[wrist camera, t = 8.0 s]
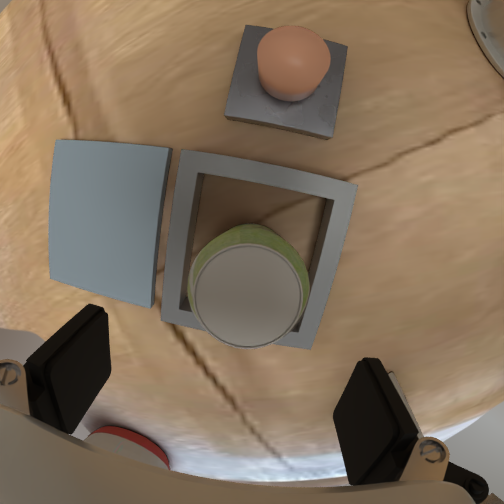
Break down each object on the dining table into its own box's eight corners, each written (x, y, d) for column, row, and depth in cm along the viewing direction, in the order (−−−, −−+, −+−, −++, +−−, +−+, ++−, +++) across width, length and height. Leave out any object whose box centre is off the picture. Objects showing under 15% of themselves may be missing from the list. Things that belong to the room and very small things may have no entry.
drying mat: (61, 140, 22) (55, 139, 21) (172, 148, 22) (168, 148, 21) (55, 275, 26) (50, 278, 25) (154, 303, 26) (150, 308, 25)
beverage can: (214, 288, 25) (179, 376, 14) (216, 202, 23) (169, 235, 12) (287, 292, 25) (302, 386, 14) (294, 207, 23) (324, 244, 12)
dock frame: (190, 150, 22) (181, 149, 20) (348, 183, 22) (358, 184, 20) (169, 307, 26) (160, 320, 24) (307, 334, 26) (310, 349, 24)
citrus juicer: (158, 412, 30) (106, 550, 11) (193, 479, 35) (172, 580, 16) (65, 398, 31) (0, 493, 12) (111, 466, 36) (75, 548, 17)
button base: (247, 35, 19) (245, 24, 17) (341, 54, 19) (347, 46, 17) (227, 119, 21) (224, 115, 19) (326, 140, 22) (332, 137, 20)
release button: (264, 44, 17) (264, 20, 14) (323, 56, 17) (334, 35, 14) (253, 95, 19) (250, 78, 15) (313, 107, 19) (324, 94, 15)
